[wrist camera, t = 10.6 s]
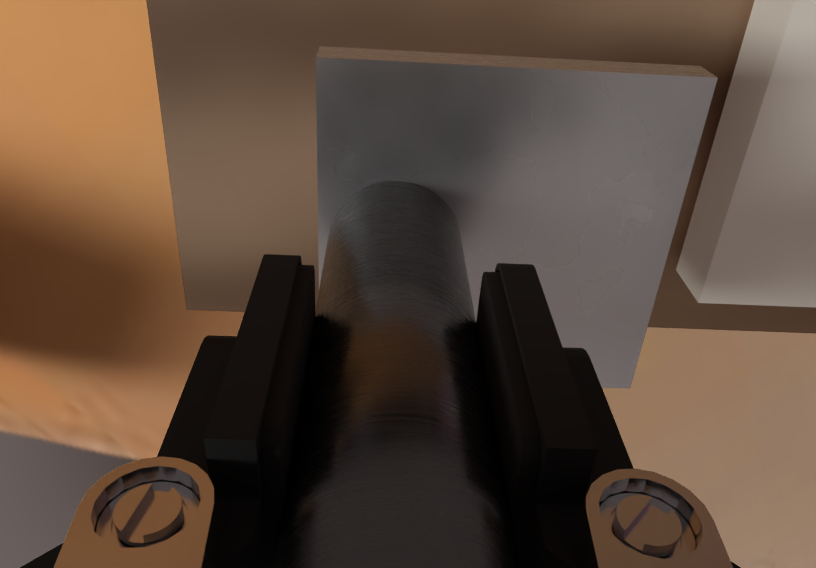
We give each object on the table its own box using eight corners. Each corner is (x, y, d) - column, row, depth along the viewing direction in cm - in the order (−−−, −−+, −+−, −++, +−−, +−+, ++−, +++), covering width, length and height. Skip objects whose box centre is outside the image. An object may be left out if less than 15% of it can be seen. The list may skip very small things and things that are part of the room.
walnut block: (808, 200, 35) (976, 339, 25) (249, 174, 34) (186, 309, 24) (930, -120, 28) (1236, -107, 18) (227, -165, 27) (122, -180, 17)
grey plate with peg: (620, 366, 17) (905, 1007, 7) (323, 356, 16) (231, 1012, 7) (700, 66, 13) (1467, 586, 4) (319, 45, 13) (122, 558, 3)
